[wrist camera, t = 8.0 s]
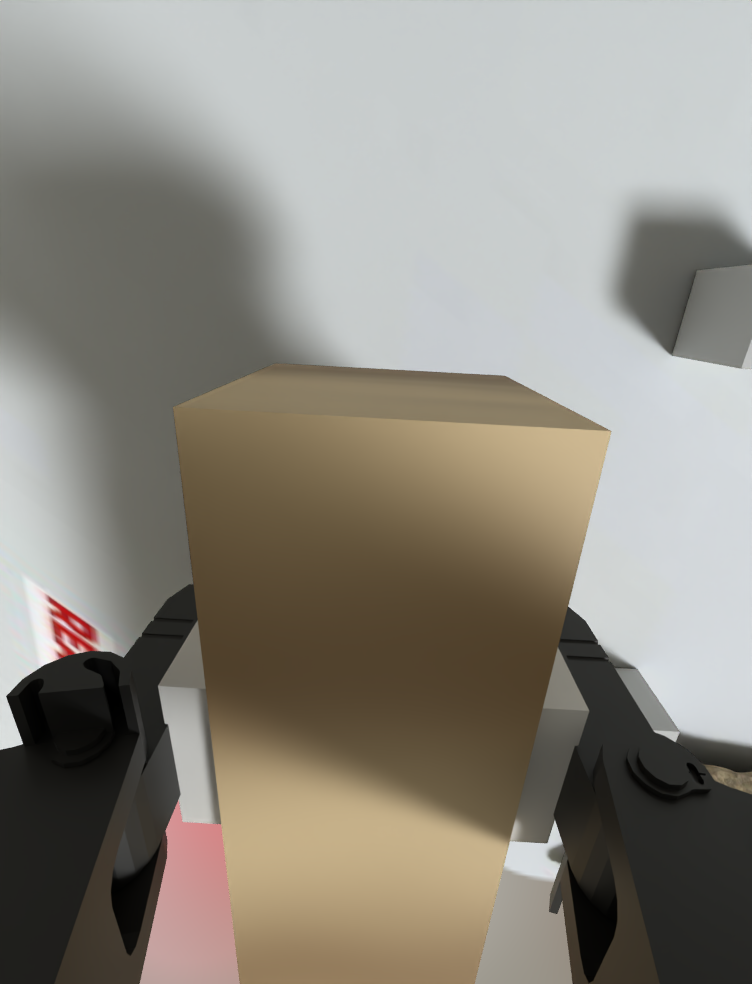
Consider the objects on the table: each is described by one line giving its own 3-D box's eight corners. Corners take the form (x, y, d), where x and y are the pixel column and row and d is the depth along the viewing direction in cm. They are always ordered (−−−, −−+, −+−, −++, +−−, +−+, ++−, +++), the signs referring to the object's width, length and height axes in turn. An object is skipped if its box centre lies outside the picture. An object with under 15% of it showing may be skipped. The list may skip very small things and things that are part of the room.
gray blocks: (697, 270, 13) (779, 261, 10) (779, 274, 13) (884, 267, 10) (568, 707, 20) (596, 772, 17) (622, 710, 20) (660, 776, 17)
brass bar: (275, 362, 8) (172, 406, 4) (504, 375, 8) (611, 431, 4) (293, 959, 15) (262, 1176, 11) (415, 967, 15) (424, 1186, 11)
